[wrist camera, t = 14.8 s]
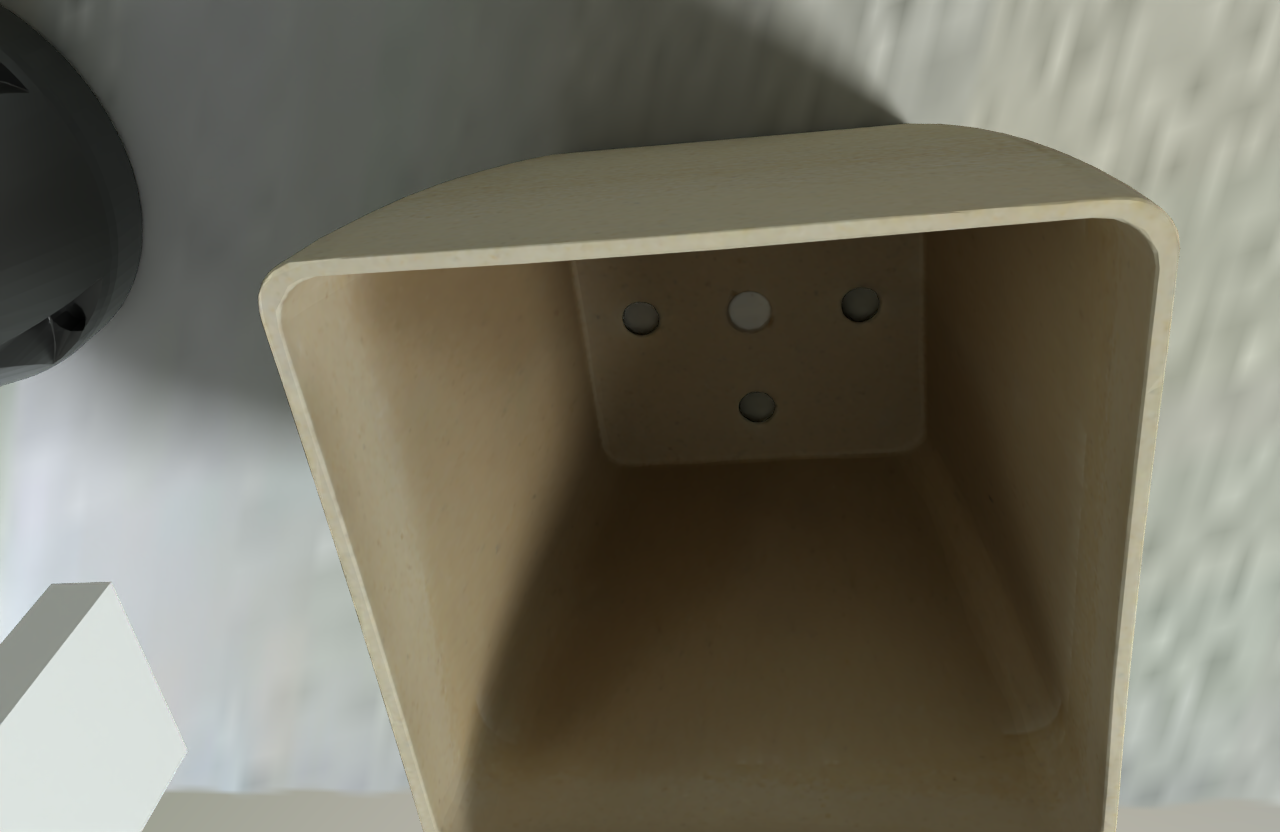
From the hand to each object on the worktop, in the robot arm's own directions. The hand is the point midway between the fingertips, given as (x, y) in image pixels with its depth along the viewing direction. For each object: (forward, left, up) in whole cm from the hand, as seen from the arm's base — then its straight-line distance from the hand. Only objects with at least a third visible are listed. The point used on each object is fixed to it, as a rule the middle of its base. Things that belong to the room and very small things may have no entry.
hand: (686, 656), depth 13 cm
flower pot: (-1, -9, -29) cm, 30 cm away
